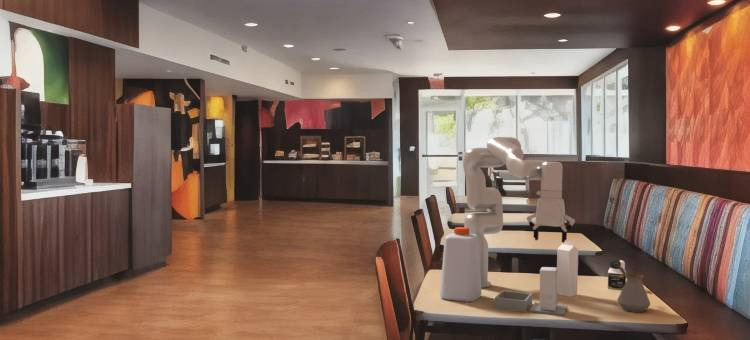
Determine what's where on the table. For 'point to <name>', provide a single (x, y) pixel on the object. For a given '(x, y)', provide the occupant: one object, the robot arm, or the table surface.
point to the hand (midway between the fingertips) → (549, 240)
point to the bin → (513, 301)
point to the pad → (559, 310)
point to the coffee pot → (633, 293)
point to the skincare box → (548, 288)
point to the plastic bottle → (461, 267)
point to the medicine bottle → (616, 275)
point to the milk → (567, 269)
